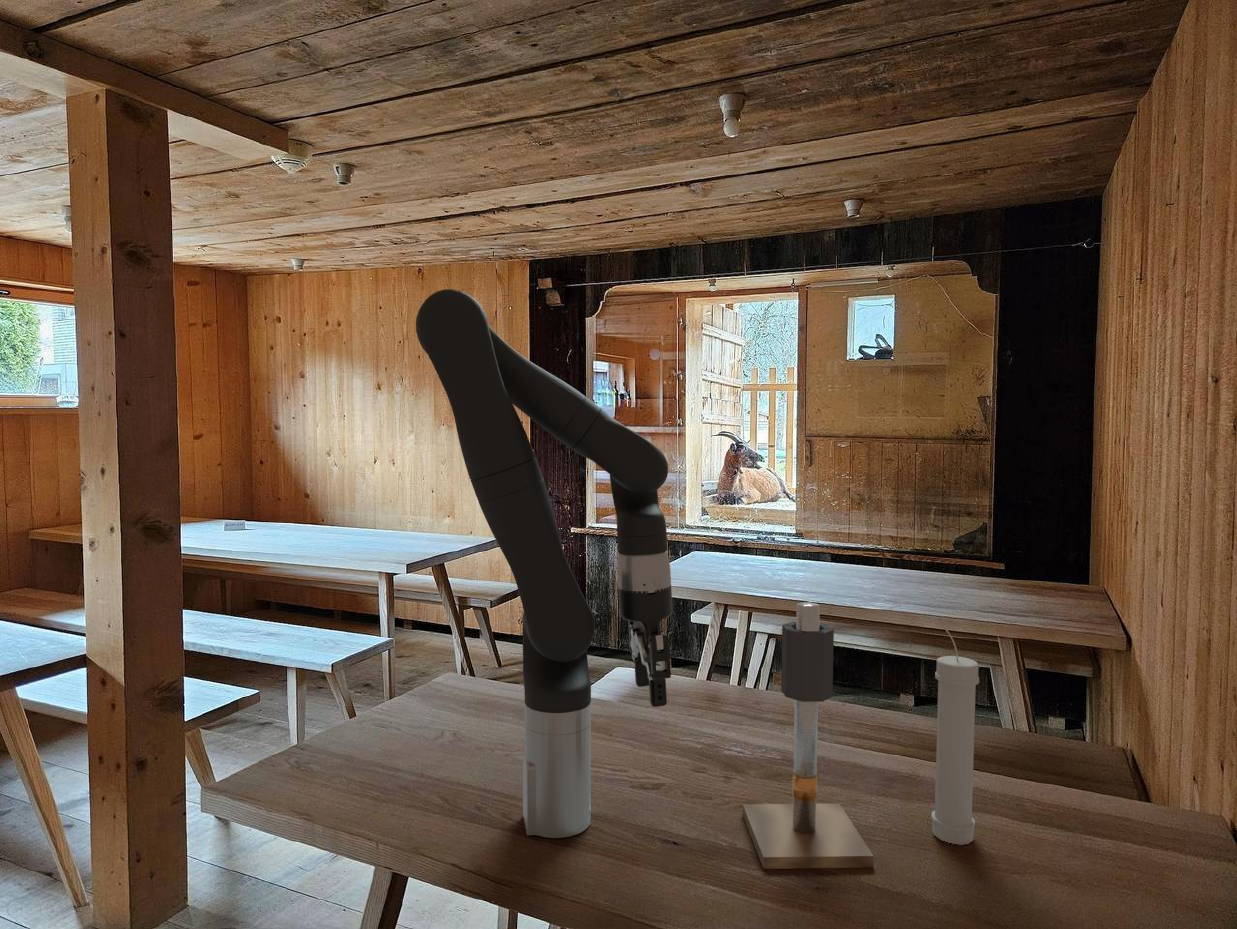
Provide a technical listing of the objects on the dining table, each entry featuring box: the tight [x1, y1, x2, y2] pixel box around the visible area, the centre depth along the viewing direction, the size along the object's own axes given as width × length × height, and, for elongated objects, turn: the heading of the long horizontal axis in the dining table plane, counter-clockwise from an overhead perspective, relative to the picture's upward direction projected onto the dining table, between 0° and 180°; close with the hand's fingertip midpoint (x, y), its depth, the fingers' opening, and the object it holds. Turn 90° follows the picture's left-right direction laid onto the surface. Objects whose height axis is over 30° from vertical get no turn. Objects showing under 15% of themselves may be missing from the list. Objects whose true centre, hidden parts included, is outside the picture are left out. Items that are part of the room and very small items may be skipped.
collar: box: [780, 620, 835, 703], centre depth 107 cm, size 6×6×9 cm
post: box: [742, 602, 874, 870], centre depth 107 cm, size 14×14×32 cm
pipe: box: [930, 617, 980, 846], centre depth 108 cm, size 6×6×30 cm
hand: (650, 695), depth 114 cm, fingers open, 8 cm apart
